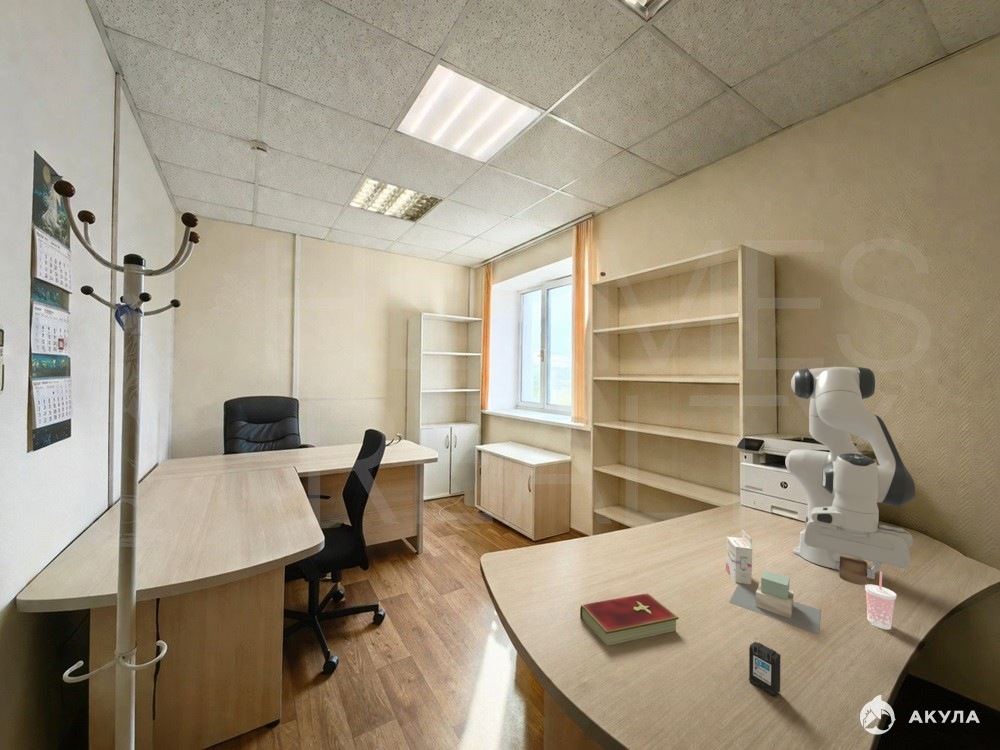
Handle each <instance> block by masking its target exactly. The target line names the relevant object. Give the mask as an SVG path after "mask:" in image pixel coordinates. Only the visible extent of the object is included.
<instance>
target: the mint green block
mask: <svg viewBox="0 0 1000 750" xmlns="http://www.w3.org/2000/svg"><path fill="white" fill-rule="evenodd" d="M790 579H791V577H788V576H786V575H782V574H779V573H775V572H773V571H768V570H765V569H764V570H763V572H762V575H761V577H760V581H761V592H762V593H765V594H769V595H772V596H775V597H778V598H781V599H784V600H787V598H788V594H789V590H790V582H791V581H790Z"/></svg>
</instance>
